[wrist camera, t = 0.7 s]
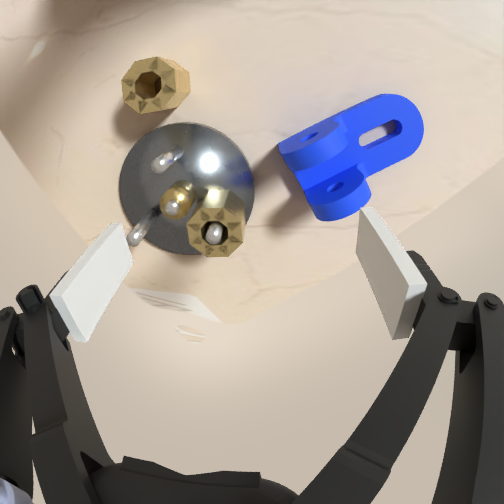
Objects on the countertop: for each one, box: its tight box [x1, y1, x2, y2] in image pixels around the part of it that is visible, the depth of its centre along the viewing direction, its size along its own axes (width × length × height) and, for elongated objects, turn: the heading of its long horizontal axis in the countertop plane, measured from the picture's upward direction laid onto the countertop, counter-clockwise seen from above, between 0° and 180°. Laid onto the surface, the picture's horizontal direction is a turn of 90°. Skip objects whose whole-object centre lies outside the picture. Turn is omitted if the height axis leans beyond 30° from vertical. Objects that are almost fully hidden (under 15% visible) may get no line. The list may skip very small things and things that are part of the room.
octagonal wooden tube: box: [122, 57, 190, 114], centre depth 28 cm, size 6×6×6 cm
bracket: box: [278, 94, 424, 221], centre depth 29 cm, size 18×8×9 cm, turn 121°
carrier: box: [120, 122, 254, 257], centre depth 34 cm, size 18×18×8 cm
